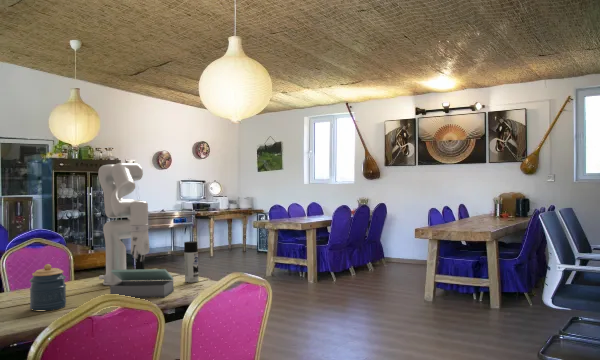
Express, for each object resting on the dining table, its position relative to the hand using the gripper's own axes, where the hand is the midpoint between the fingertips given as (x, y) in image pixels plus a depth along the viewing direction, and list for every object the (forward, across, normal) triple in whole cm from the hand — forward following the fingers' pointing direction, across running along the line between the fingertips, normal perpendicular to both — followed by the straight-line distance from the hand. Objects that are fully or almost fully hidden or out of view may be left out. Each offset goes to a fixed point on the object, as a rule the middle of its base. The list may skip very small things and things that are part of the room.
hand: (140, 270), depth 207 cm
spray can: (+11, +30, -14) cm, 35 cm away
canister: (+11, -20, +30) cm, 38 cm away
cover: (+3, +3, 0) cm, 4 cm away
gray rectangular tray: (+11, +2, 0) cm, 11 cm away
